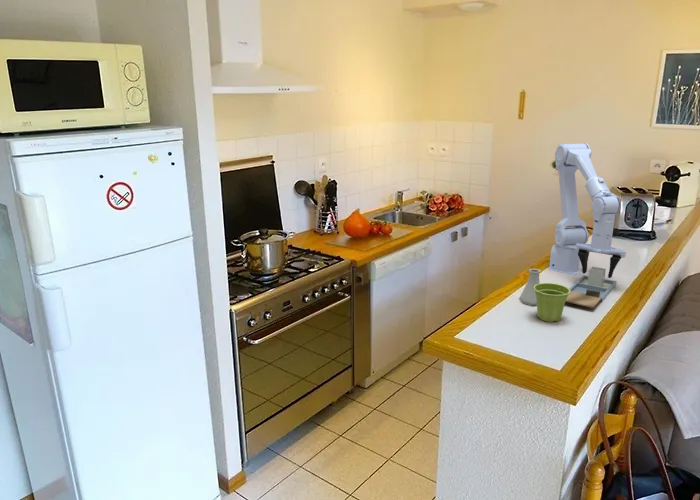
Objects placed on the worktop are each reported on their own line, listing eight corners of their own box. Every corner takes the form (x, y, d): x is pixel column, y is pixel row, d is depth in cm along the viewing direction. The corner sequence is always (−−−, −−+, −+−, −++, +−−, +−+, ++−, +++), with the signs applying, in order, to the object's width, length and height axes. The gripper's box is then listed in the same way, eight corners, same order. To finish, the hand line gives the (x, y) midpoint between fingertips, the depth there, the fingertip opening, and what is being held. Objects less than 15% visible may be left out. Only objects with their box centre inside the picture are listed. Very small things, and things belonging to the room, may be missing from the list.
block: (587, 285, 171) (589, 269, 169) (590, 282, 174) (592, 266, 172) (600, 288, 168) (602, 272, 167) (603, 284, 171) (605, 268, 170)
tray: (566, 296, 164) (566, 291, 163) (582, 279, 178) (583, 275, 178) (601, 303, 158) (602, 298, 157) (615, 285, 172) (616, 281, 172)
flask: (532, 308, 155) (535, 275, 152) (514, 300, 161) (516, 268, 158) (549, 303, 158) (553, 271, 155) (531, 295, 164) (534, 265, 162)
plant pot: (563, 327, 142) (566, 297, 140) (527, 320, 147) (530, 290, 144) (569, 315, 150) (573, 286, 147) (535, 308, 154) (538, 280, 152)
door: (557, 300, 156) (558, 293, 156) (566, 291, 163) (567, 285, 163) (593, 307, 150) (594, 301, 150) (601, 298, 157) (602, 291, 157)
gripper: (574, 233, 168) (569, 273, 172) (624, 240, 159) (618, 282, 163) (580, 228, 173) (576, 268, 177) (629, 235, 165) (623, 276, 168)
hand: (597, 274), depth 170 cm, fingers open, 7 cm apart
